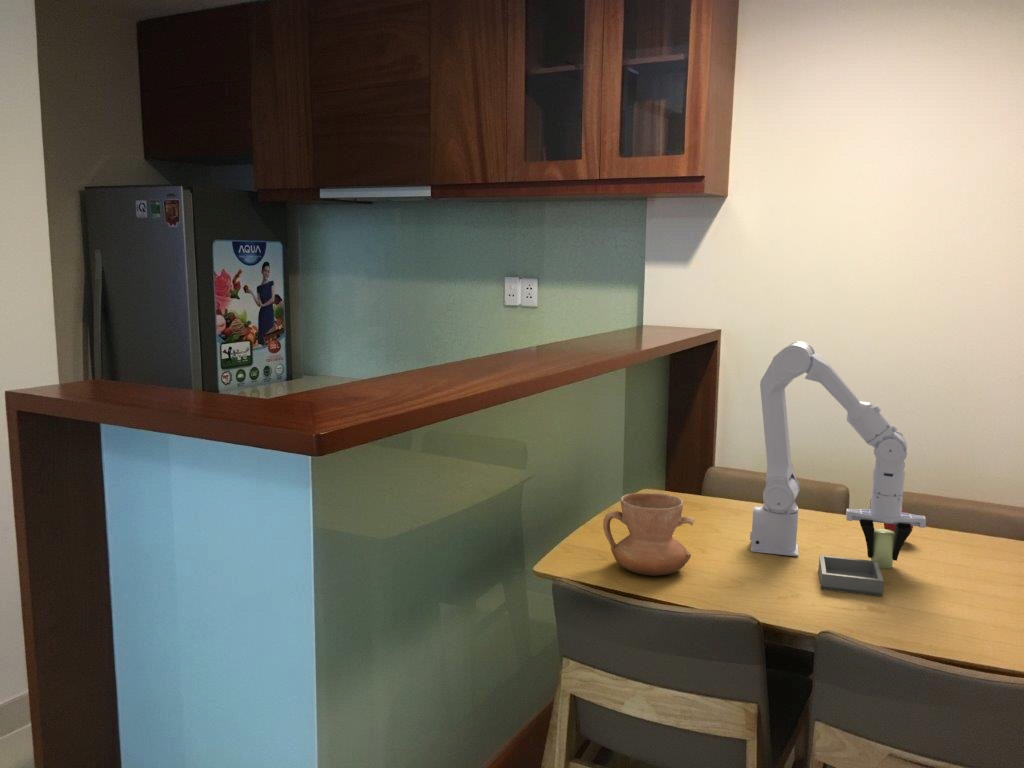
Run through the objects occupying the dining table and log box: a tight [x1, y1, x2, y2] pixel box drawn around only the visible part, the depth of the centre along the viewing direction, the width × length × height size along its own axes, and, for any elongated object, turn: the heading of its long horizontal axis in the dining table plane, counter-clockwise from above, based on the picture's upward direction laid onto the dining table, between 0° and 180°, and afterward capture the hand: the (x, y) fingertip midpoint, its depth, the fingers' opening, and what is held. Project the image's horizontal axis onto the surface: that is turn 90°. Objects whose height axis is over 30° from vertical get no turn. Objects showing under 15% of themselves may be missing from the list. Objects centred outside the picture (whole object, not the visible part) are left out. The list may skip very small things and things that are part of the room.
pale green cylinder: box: [870, 528, 895, 570], centre depth 169 cm, size 4×4×7 cm
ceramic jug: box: [602, 492, 696, 577], centre depth 166 cm, size 18×14×14 cm
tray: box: [818, 554, 885, 597], centre depth 160 cm, size 11×11×3 cm
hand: (882, 557), depth 170 cm, fingers closed on pale green cylinder, 4 cm apart
